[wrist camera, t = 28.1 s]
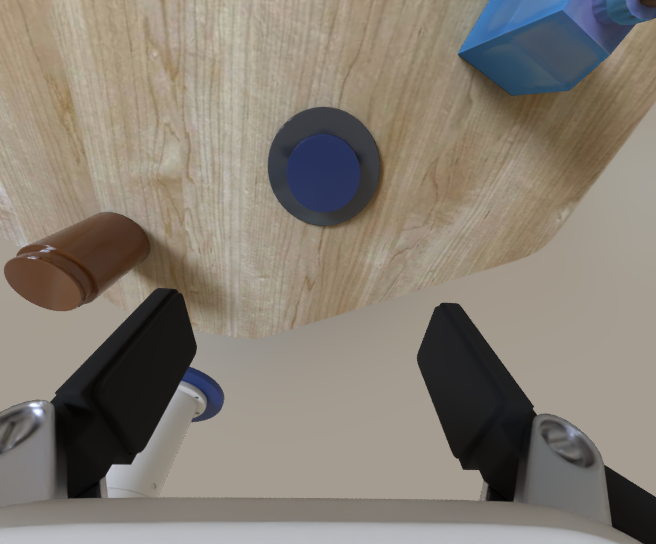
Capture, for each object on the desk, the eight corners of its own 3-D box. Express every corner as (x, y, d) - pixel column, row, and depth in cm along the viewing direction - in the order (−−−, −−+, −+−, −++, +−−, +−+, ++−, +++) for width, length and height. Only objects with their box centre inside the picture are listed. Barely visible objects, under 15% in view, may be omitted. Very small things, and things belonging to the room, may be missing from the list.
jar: (152, 267, 31) (93, 320, 24) (95, 256, 31) (15, 307, 23) (146, 219, 28) (75, 262, 20) (82, 205, 27) (-18, 244, 19)
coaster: (358, 233, 29) (359, 235, 29) (262, 210, 28) (261, 212, 27) (396, 127, 24) (397, 127, 23) (277, 90, 22) (276, 89, 21)
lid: (297, 121, 23) (295, 122, 21) (370, 146, 24) (372, 148, 22) (281, 196, 26) (279, 201, 25) (345, 215, 27) (347, 221, 26)
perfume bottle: (519, -50, 18) (774, -262, 8) (576, 6, 19) (853, -108, 9) (457, 53, 21) (583, -1, 11) (511, 95, 22) (667, 82, 12)
